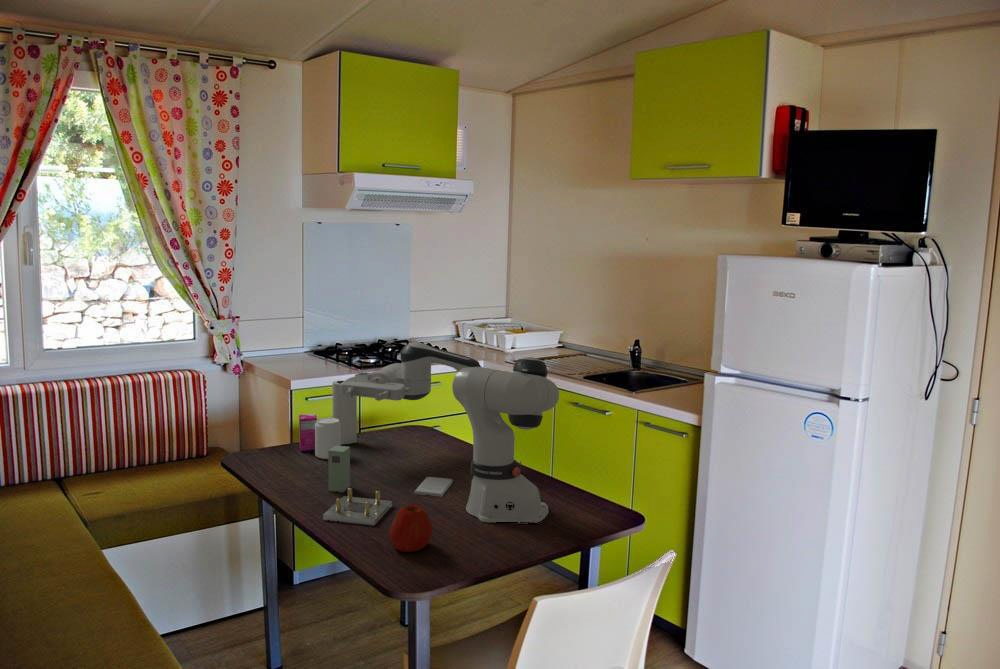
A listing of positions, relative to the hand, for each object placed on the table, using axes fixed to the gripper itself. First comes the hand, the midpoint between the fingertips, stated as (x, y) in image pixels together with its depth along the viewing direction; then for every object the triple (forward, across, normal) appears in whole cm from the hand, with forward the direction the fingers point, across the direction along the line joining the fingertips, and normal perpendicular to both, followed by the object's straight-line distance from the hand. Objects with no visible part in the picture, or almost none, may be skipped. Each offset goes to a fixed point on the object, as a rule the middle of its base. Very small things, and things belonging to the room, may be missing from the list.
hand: (363, 396), depth 246 cm
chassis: (+32, -13, -22) cm, 41 cm away
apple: (+47, -34, -22) cm, 62 cm away
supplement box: (-14, +26, -25) cm, 39 cm away
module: (+16, 0, -23) cm, 28 cm away
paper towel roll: (-24, +19, -25) cm, 40 cm away
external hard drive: (+7, -25, -24) cm, 36 cm away
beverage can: (-10, +17, -25) cm, 31 cm away
